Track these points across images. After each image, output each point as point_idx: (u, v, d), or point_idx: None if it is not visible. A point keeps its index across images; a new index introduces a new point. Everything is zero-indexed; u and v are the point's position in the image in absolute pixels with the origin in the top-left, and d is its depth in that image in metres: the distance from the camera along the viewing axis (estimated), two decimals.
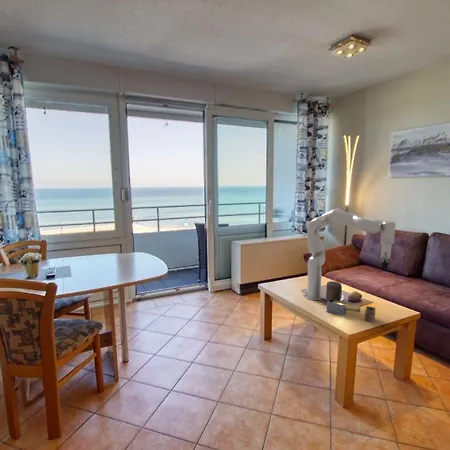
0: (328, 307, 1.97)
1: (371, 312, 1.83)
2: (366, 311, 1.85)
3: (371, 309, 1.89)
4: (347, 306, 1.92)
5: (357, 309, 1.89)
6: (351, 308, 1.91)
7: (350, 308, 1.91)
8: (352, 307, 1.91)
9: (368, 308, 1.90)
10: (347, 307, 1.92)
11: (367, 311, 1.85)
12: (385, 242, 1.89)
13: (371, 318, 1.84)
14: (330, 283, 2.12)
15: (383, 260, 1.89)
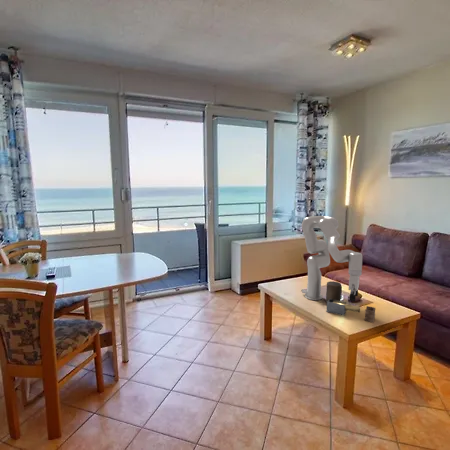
0: (328, 307, 1.97)
1: (371, 312, 1.83)
2: (366, 311, 1.85)
3: (371, 309, 1.89)
4: (347, 306, 1.92)
5: (357, 309, 1.89)
6: (351, 308, 1.91)
7: (350, 308, 1.91)
8: (352, 307, 1.91)
9: (368, 308, 1.90)
10: (347, 307, 1.92)
11: (367, 311, 1.85)
12: (352, 274, 1.86)
13: (371, 318, 1.84)
14: (330, 283, 2.12)
15: None
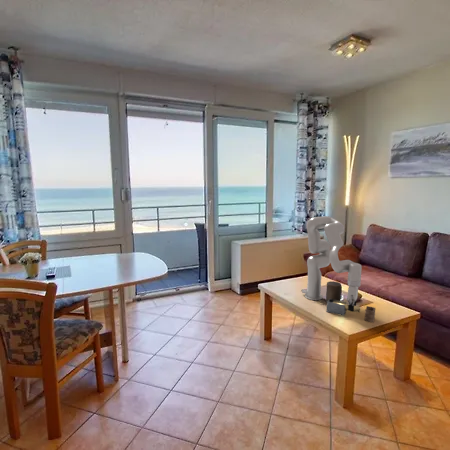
0: (328, 307, 1.97)
1: (371, 312, 1.83)
2: (366, 311, 1.85)
3: (371, 309, 1.89)
4: (347, 306, 1.92)
5: (357, 309, 1.89)
6: None
7: None
8: None
9: (368, 308, 1.90)
10: (347, 307, 1.92)
11: (367, 311, 1.85)
12: (351, 285, 1.87)
13: (371, 318, 1.84)
14: (330, 283, 2.12)
15: None
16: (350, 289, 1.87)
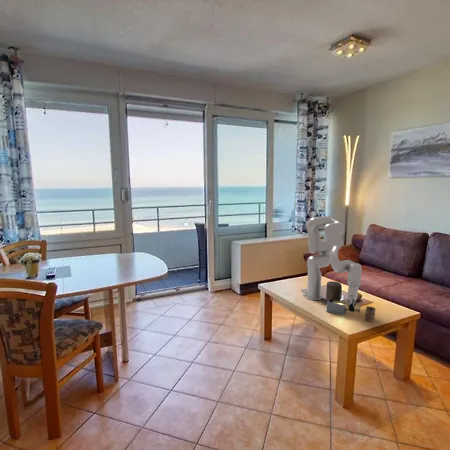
0: (328, 307, 1.97)
1: (371, 312, 1.83)
2: (366, 311, 1.85)
3: (371, 309, 1.89)
4: (347, 306, 1.92)
5: (357, 309, 1.89)
6: None
7: None
8: None
9: (368, 308, 1.90)
10: (347, 307, 1.92)
11: (367, 311, 1.85)
12: (351, 285, 1.87)
13: (371, 318, 1.84)
14: (330, 283, 2.12)
15: (350, 304, 1.89)
16: (350, 289, 1.87)
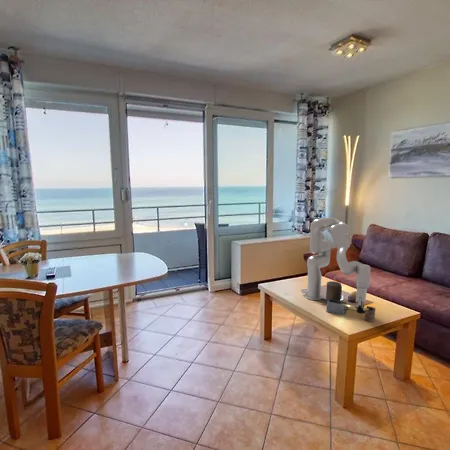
0: (328, 307, 1.97)
1: (371, 312, 1.83)
2: (366, 311, 1.85)
3: (371, 309, 1.89)
4: (355, 308, 1.90)
5: None
6: None
7: None
8: None
9: (368, 308, 1.90)
10: (355, 309, 1.90)
11: (367, 311, 1.85)
12: (360, 286, 1.85)
13: (371, 318, 1.84)
14: (330, 283, 2.12)
15: (358, 305, 1.87)
16: (359, 291, 1.84)
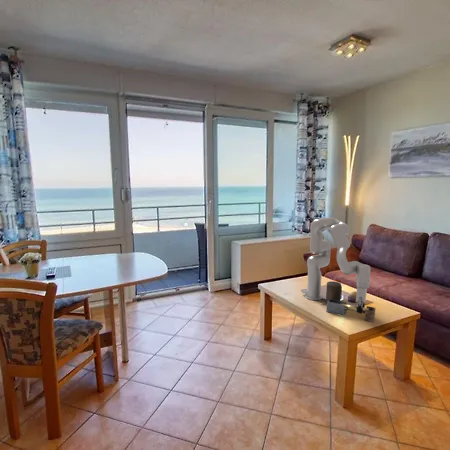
0: (328, 307, 1.97)
1: (371, 312, 1.83)
2: (366, 311, 1.85)
3: (371, 309, 1.89)
4: (355, 308, 1.90)
5: None
6: None
7: None
8: None
9: (368, 308, 1.90)
10: (355, 309, 1.90)
11: (367, 311, 1.85)
12: (360, 286, 1.85)
13: (371, 318, 1.84)
14: (330, 283, 2.12)
15: (358, 305, 1.85)
16: (359, 291, 1.84)
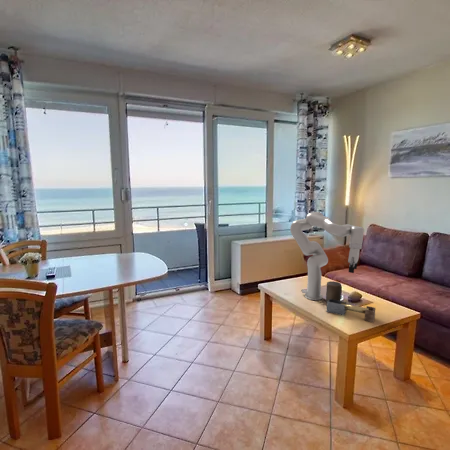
0: (328, 307, 1.97)
1: (371, 312, 1.83)
2: (366, 311, 1.85)
3: (371, 309, 1.89)
4: (355, 308, 1.90)
5: None
6: (360, 310, 1.88)
7: (358, 310, 1.89)
8: (360, 309, 1.88)
9: (368, 308, 1.90)
10: (355, 309, 1.90)
11: (367, 311, 1.85)
12: (353, 247, 1.92)
13: (371, 318, 1.84)
14: (330, 283, 2.12)
15: (350, 264, 1.93)
16: (351, 251, 1.92)
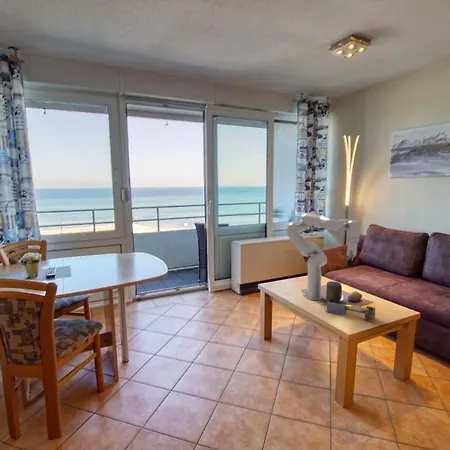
0: (328, 307, 1.97)
1: (371, 312, 1.83)
2: (366, 311, 1.85)
3: (371, 309, 1.89)
4: (355, 308, 1.90)
5: None
6: (360, 310, 1.88)
7: (358, 310, 1.89)
8: (360, 309, 1.88)
9: (368, 308, 1.90)
10: (355, 309, 1.90)
11: (367, 311, 1.85)
12: (350, 240, 1.95)
13: (371, 318, 1.84)
14: (330, 283, 2.12)
15: (348, 258, 1.95)
16: (349, 245, 1.95)
